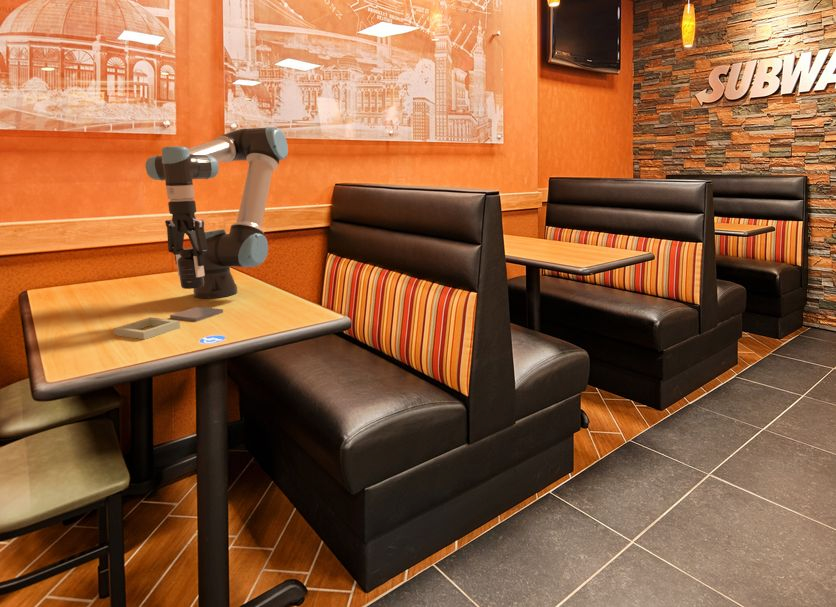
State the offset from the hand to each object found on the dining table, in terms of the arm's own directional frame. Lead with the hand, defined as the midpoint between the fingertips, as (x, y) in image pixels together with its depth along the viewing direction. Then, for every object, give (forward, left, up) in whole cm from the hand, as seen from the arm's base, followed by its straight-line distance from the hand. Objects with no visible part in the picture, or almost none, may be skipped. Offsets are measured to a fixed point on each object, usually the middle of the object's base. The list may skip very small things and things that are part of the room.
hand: (191, 275), depth 168 cm
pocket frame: (0, -18, -13) cm, 22 cm away
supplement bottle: (0, 0, -4) cm, 4 cm away
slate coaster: (0, 0, -13) cm, 13 cm away
